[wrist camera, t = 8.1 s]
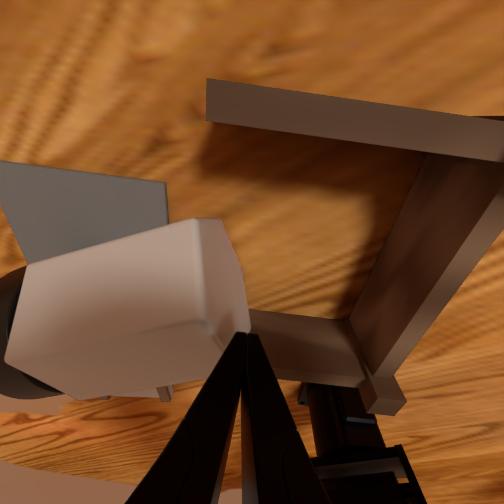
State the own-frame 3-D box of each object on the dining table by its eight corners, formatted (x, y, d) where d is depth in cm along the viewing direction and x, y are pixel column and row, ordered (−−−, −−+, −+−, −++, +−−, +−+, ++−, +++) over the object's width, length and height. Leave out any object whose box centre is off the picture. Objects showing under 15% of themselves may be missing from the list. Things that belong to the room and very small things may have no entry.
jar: (239, 242, 18) (109, 275, 20) (191, 175, 11) (-7, 237, 13) (258, 364, 15) (99, 392, 16) (208, 389, 7) (-70, 434, 9)
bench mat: (174, 310, 20) (173, 313, 19) (46, 295, 19) (43, 297, 19) (166, 182, 14) (164, 183, 14) (-15, 158, 14) (-21, 159, 14)
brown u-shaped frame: (358, 334, 20) (394, 416, 15) (215, 317, 20) (196, 394, 14) (472, 121, 12) (656, 123, 6) (227, 86, 11) (195, 55, 6)
